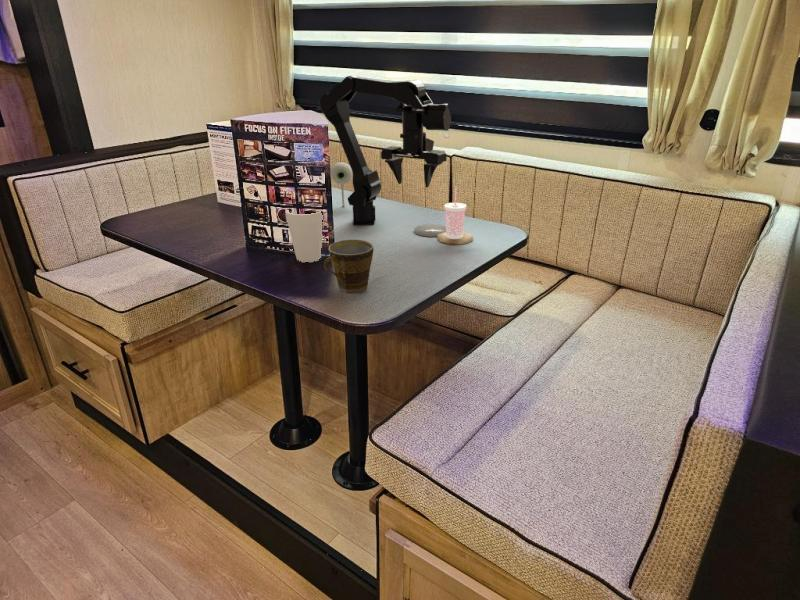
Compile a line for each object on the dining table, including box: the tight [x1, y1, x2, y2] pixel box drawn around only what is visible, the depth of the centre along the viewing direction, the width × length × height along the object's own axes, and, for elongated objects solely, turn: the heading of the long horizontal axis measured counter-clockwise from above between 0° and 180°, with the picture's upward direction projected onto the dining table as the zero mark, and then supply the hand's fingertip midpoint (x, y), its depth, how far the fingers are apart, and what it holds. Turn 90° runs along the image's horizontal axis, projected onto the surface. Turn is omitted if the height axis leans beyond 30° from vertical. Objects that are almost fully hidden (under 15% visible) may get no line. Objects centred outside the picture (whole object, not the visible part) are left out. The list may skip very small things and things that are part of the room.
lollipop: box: [330, 161, 353, 207], centre depth 182 cm, size 7×7×15 cm
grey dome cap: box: [413, 223, 446, 238], centre depth 160 cm, size 10×10×1 cm
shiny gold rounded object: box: [436, 231, 473, 245], centre depth 154 cm, size 10×10×1 cm
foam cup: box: [284, 209, 324, 263], centre depth 139 cm, size 10×9×13 cm
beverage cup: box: [444, 186, 467, 239], centre depth 151 cm, size 6×6×14 cm
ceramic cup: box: [323, 239, 375, 295], centre depth 121 cm, size 13×10×10 cm
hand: (413, 185), depth 157 cm, fingers open, 9 cm apart
